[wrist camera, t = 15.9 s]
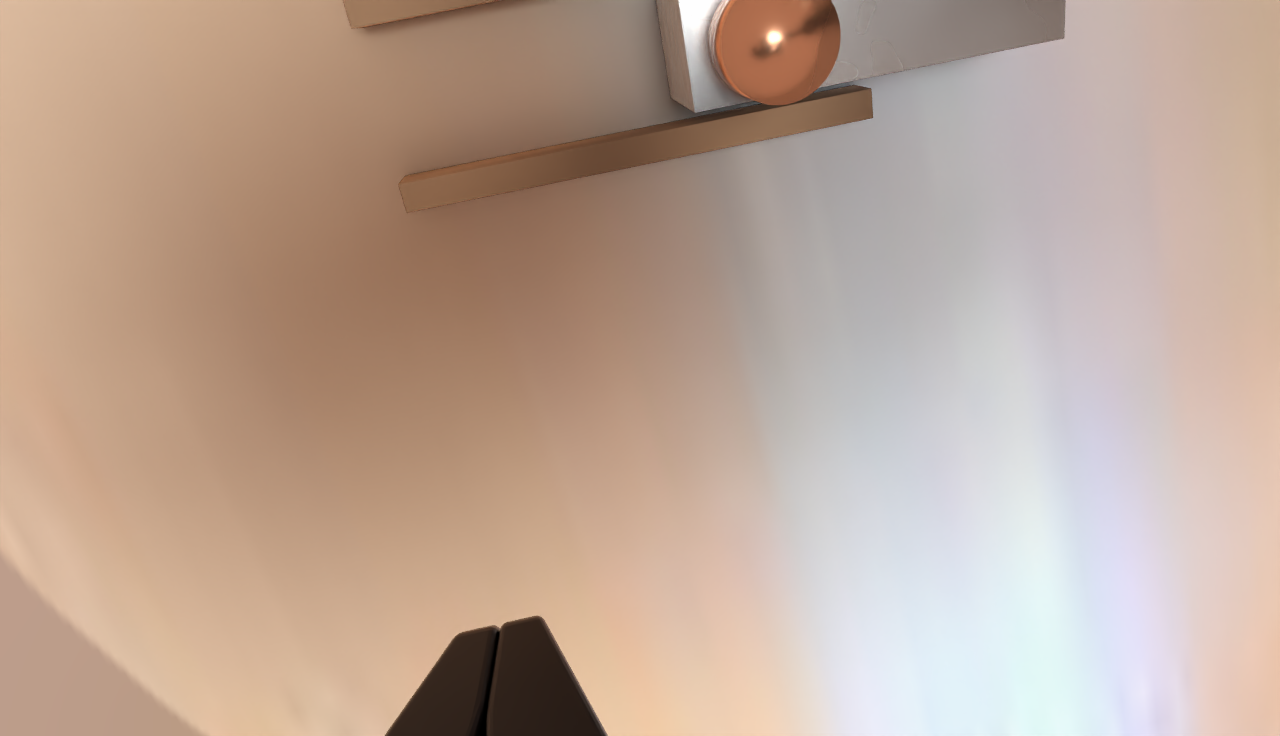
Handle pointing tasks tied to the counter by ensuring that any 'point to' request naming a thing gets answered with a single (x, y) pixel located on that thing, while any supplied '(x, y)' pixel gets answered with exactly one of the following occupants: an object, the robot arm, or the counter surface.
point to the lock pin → (830, 42)
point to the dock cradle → (387, 3)
